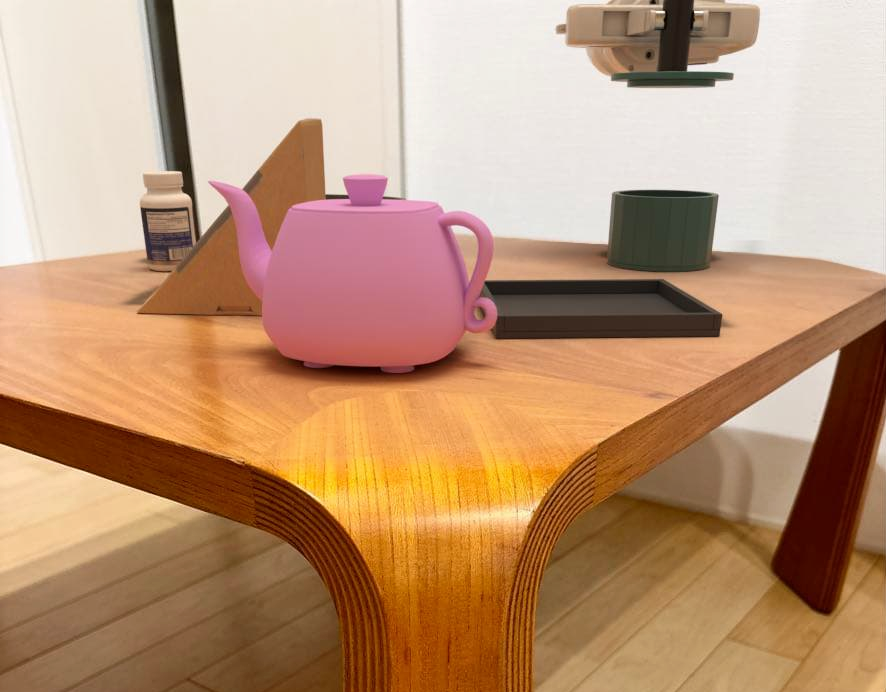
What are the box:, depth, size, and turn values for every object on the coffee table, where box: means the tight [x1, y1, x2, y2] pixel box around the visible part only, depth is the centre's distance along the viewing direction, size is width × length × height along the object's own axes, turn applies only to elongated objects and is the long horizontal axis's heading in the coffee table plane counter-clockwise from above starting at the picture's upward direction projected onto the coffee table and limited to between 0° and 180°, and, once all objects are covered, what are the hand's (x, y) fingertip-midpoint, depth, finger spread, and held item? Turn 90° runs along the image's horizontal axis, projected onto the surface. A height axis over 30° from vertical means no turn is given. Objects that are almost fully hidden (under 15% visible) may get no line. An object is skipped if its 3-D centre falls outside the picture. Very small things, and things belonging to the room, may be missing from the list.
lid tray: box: [478, 278, 723, 339], centre depth 76 cm, size 17×16×2 cm
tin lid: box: [610, 0, 735, 89], centre depth 92 cm, size 12×12×8 cm
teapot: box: [207, 173, 497, 374], centre depth 61 cm, size 20×13×12 cm, turn 76°
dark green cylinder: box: [606, 189, 720, 273], centre depth 102 cm, size 11×11×8 cm
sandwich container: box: [136, 117, 326, 316], centre depth 77 cm, size 9×15×15 cm, turn 86°
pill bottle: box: [139, 170, 198, 272], centre depth 98 cm, size 5×5×10 cm
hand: (679, 20), depth 90 cm, fingers closed on tin lid, 3 cm apart
